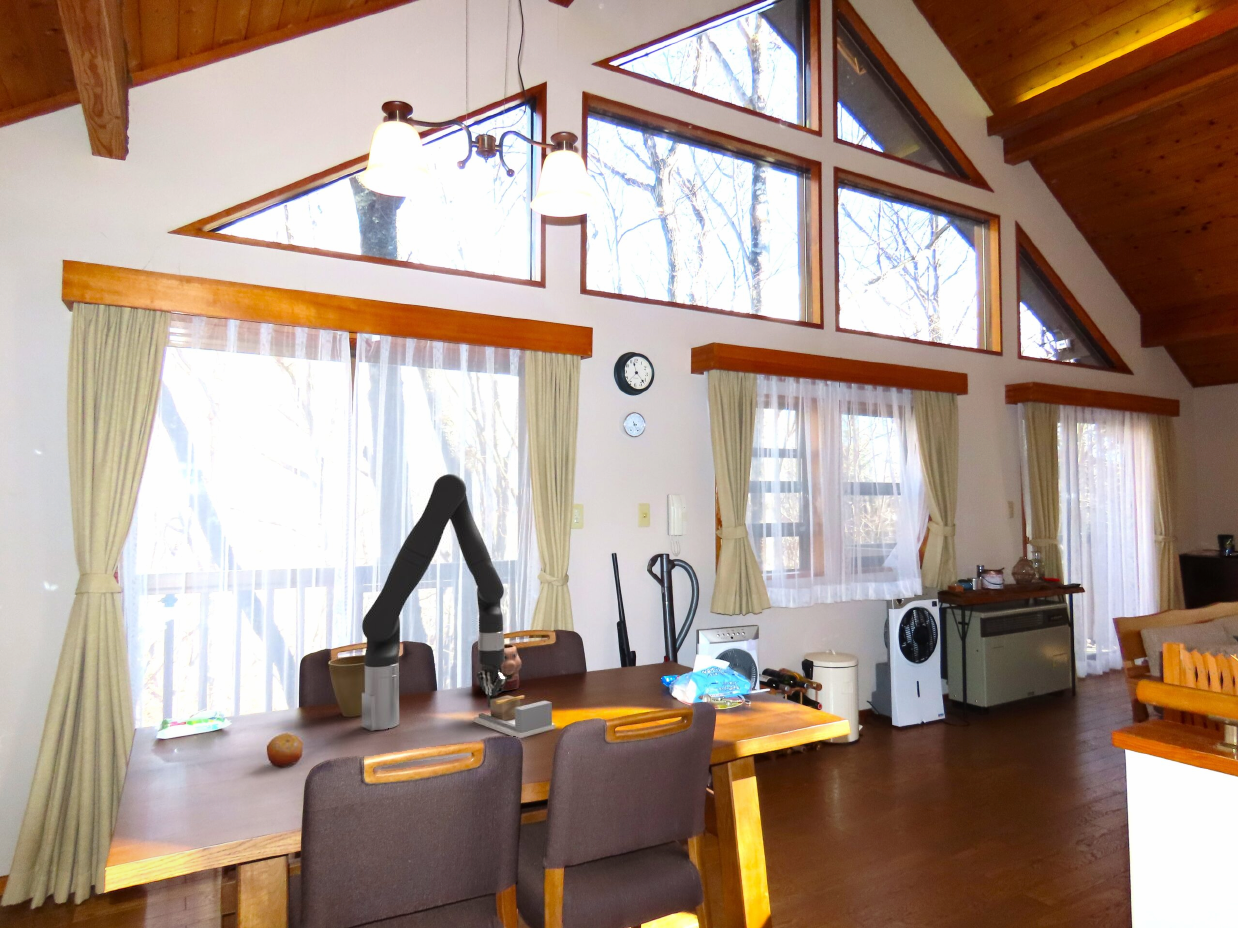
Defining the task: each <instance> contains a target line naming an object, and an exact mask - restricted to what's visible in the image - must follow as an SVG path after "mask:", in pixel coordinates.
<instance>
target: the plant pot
mask: <svg viewBox="0 0 1238 928" xmlns="http://www.w3.org/2000/svg"><path fill="white" fill-rule="evenodd" d="M364 657H365V654H364V655H363V654H362V655H351V656H345V657H344V656H343V657H339V658H338V657H337V658H335V659H331V660H329V661H328V669H329V674H330V675H329V676H330V680H331V683H332V684H331V685H332V688H333V691H334V695H335V698H336V701H337V703H338V707H339V709H340V712H341V714H342V716H344V717H347V718H348V717H349V718H350V717H352V718H353V717H362V692H365V665H364Z"/></svg>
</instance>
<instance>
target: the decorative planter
mask: <svg viewBox="0 0 1238 928" xmlns="http://www.w3.org/2000/svg"><path fill="white" fill-rule="evenodd" d="M504 654H505V661H504V663H502V665H501V668H502V675H503V677H507V682H506V684H505V686H504V688H503V690H502V692H504V691H511V690H516V689H518V688H519V685H520V677H519V671H520V669H521V668H522V659H520V656H519V654H518V649H517V647H516V646H515V645H513V644H504Z"/></svg>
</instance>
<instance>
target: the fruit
mask: <svg viewBox="0 0 1238 928" xmlns="http://www.w3.org/2000/svg"><path fill="white" fill-rule="evenodd" d="M303 745H304V743H303V741H302V740H301V739H300V738H299V736H297V735H294V734H291V733H281V734H279V735H277V736H275V737H274V738H272V739H271V740H270V741H269V742H268V744H267V745H266V754H267V759H268V761H269V762H270V763H269V764H270V765H273V766H274V767H278V769H281V768H285V767H288V766H291V765H294V764H296V763H297V762H299V761H300V759H302V756H303V751H304V750H303V748H304V747H303Z"/></svg>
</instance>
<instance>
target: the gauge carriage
mask: <svg viewBox="0 0 1238 928" xmlns="http://www.w3.org/2000/svg"><path fill="white" fill-rule="evenodd" d="M522 699H525V695H519V696H518V695H517V696H512V695H503V696H500V697H497V698H495V699H490V708H489V709H490V714H491V716H492V717H495V718H497V719H500V720H503V721H507V720H511V719H515V708H516V707H520V706H521V700H522Z"/></svg>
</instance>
